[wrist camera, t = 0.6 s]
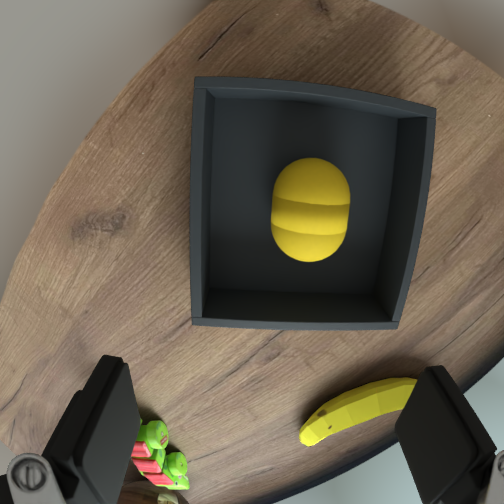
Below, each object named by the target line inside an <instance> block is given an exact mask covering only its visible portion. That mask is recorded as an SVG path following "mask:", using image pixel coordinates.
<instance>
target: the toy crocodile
mask: <svg viewBox="0 0 504 504" xmlns="http://www.w3.org/2000/svg"><path fill="white" fill-rule="evenodd" d="M141 423H142V420H141ZM167 444H168V431H167V428H166V425H165V424H164V423H163V422H162V421H150V422H149V423H148V425H141V424H140V429H139V432H138V435H137V439H136V442H135V445H134V448H133V451H132V454H131V456H132V460H133V462H134V464H135V465H136V466H137V468H138V470H139V471H140V473H141V474H142V475H143V476H145V477H146V478H148V479H149V481H151V482H152V483H153V484H154V485H156V486H165V487H167V488H168V489H189V487H190V486H189V482H188V477H187V476H186V475H185V473H186V472H187V462H186V459H185V457H184V455H183V454H182V453H181V452H172V453H170V454H169V455H165V454H166V452H165V450H164V448H165V447H166V446H167Z"/></svg>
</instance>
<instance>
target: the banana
mask: <svg viewBox="0 0 504 504" xmlns="http://www.w3.org/2000/svg"><path fill="white" fill-rule="evenodd" d="M416 382H417V380H416V379H412V378H408V377H401V378H389V379H384V380H380V381H376V382H371V383H368V384H365V385H363V386H360V387H358V388H355V389H352V390H350V391H347V392H344V393H342V394H341V395H339V396H337V397H335V398H333V399H332V400H330V401H328V402H326V403H324V404H323V405H322V406H321V407H320V408H319V409H318V410H317V411H316V412H315V413H314V414H313V415H312V416H311V417H310V418H309V419H308V420H307V422H306V423H305V424H304V425H303V426H302V428H301V429H300V433H299V440H300V441H301V442H302V443H303V444H305V445H306V446H308V447H311V446H313V445H314V444H316V443H317V442H319V441H320V440H322V439H324V438H325V437H327V436H329V435H331V434H333V433H336V432H338V431H341V430H344V429H346V428H349V427H351V426H354V425H357V424H359V423H362V422H364V421H367V420H369V419H372V418H374V417H377V416H379V415H382V414H385V413H389V412H392V411H395V410H400V409H403V408H404V406H405V404H406V403H407V401H408V399H409V397H410V395H411V392H412V390H413V388H414V386H415V384H416Z"/></svg>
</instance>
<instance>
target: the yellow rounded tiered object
mask: <svg viewBox="0 0 504 504" xmlns="http://www.w3.org/2000/svg"><path fill="white" fill-rule="evenodd" d="M349 208H350V190H349V185H348V183H347V180H346V178H345V177H344V175H343V174H342V172H341V171H340V170H339V169H338V168H337V167H336V166H334V165H333V164H331V163H330V162H328V161H325V160H323V159H318V158H304V159H299V160H297V161H294V162H292V163H291V164H289V165H288V166H286V167H285V168H284V169H283V170H282V172H281V173H280V174H279V176H278V178H277V180H276V182H275V185H274V190H273V198H272V212H271V230H272V234H273V237H274V239H275V241H276V243H277V245H278V246H279V247H280V249H281V250H282V251H283V252H285V253H286V254H287V255H288V256H290V257H292V258H294V259H296V260H299V261H304V262H314V261H319V260H322V259H324V258H326V257H328V256H330V255H331V254H333V253H334V252H335V251H336V250H337V249H338V247H339V246H340V245H341V244H342V242H343V240H344V237H345V234H346V230H347V223H348V215H349Z"/></svg>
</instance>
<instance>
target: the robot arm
mask: <svg viewBox="0 0 504 504" xmlns="http://www.w3.org/2000/svg"><path fill="white" fill-rule="evenodd" d="M140 424H141V419H140V415H139V411H138V407H137V403H136V398H135V394H134V389H133V385H132V380H131V376H130V371H129V366H128V364H127V363H124V362H123V359H122V358H121V357H115V356H109V355H103V356H102V357H101V359H100V361H99V362H98V364H97V366H96V367H95V369H94V371H93V373H92V374H91V376H90V378H89V379H88V381H87V383H86V385H85V387H84V388H83V390H79V391H77V392H76V393H75V394H74V396H73V398H72V399H71V401H70V403H69V405H68V406H67V408H66V410H65V412H64V414H63V415H62V417H61V419H60V421H59V423H58V425H57V426H56V428H55V430H54V432H53V434H52V436H51V438H50V440H49V441H48V443H47V445H46V447H45V449H44V451H43V453H42V455H41V456H40V455H38V454H34V453H23V454H20V455H18V456H16V457H15V458H14V459H12V461H11V462H10V463H9V465H8V468H7V474H5V475H1V476H0V504H117V501H118V498H119V494H120V491H121V487H122V484H123V481H124V477H125V474H126V471H127V467H128V464H129V461H130V458H131V454H132V451H133V448H134V445H135V442H136V439H137V435H138V432H139V429H140ZM395 433H396V435H397V438H398V440H399V443H400V445H401V448H402V450H403V453H404V455H405V458H406V460H407V463H408V466H409V468H410V471H411V473H412V476H413V479H414V482H415V484H416V487H417V490H418V492H419V495H420V498H421V500H422V503H423V504H504V450H503V451H501V452H499V453H498V454H497V455H495V453H494V452H495V451H496V450H497V447H496V446H495V444H494V443H493V441H492V439H491V437H490V436H489V434H488V432H487V431H486V429H485V428H484V426H483V424H482V423H481V421H480V420H479V418H478V417H477V415H476V413H475V412H474V410H473V409H472V407H471V406H470V404H469V403H468V401H467V399H466V398H465V397H464V395H463V393H462V392H461V390H460V389H459V388H458V386H457V385H456V383H455V382H454V380H453V379H452V377H451V376H450V374H449V373H448V372H447V370H446V369H445V367H444V366H442V365H439V366H430V367H427V368H425V370H424V371H423V372H421V374H420V376H419V378H418V380H417V382H416V384H415V386H414V388H413V390H412V392H411V395H410V397H409V399H408V401H407V403H406V404H405V406H404V408H403V410H402V412H401V414H400V416H399V418H398V420H397V421H396V424H395Z"/></svg>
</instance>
